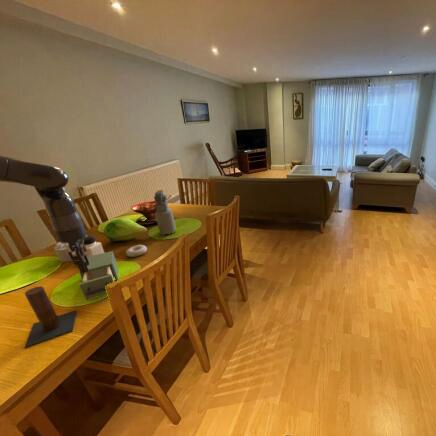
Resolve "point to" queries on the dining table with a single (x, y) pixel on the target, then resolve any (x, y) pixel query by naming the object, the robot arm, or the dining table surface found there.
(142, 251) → the donut
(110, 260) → the cabinet
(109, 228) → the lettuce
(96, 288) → the drawer
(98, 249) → the medicine bottle
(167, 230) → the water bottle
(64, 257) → the lumpy-topped squat cylinder
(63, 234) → the robot arm
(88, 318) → the dining table surface
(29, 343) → the mat
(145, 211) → the red decorative bowl
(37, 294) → the pepper mill
